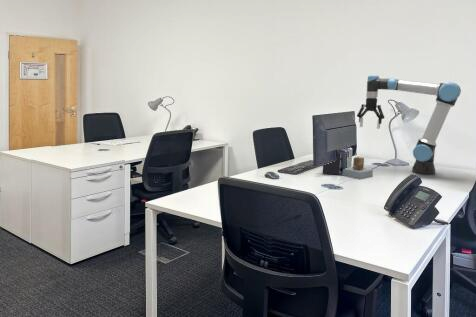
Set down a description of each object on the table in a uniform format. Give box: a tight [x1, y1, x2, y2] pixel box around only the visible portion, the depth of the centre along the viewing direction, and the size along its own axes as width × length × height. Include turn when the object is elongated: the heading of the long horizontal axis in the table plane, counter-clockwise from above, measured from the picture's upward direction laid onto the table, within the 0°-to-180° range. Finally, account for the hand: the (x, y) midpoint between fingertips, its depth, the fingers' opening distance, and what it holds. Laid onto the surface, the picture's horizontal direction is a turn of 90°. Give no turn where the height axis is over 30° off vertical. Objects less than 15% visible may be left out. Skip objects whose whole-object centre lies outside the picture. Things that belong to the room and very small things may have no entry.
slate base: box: [341, 166, 374, 180], centre depth 277 cm, size 14×14×5 cm
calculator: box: [322, 153, 341, 176], centre depth 281 cm, size 11×4×15 cm, turn 84°
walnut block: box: [352, 156, 365, 171], centre depth 276 cm, size 5×5×8 cm
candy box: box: [347, 147, 354, 168], centre depth 298 cm, size 14×6×16 cm, turn 5°
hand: (369, 127), depth 295 cm, fingers open, 13 cm apart
